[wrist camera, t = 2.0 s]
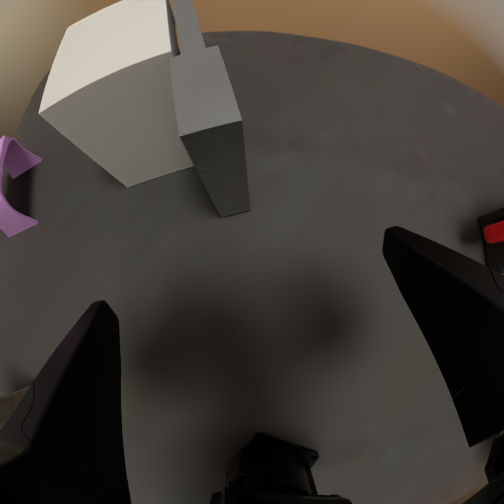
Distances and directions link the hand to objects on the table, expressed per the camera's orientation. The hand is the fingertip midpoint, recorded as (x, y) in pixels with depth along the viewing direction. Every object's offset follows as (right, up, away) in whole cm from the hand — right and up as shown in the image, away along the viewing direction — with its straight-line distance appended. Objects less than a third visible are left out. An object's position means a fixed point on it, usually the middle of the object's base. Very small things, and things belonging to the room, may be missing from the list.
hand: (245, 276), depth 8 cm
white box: (-8, +12, +15) cm, 21 cm away
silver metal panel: (-3, +11, +15) cm, 19 cm away
